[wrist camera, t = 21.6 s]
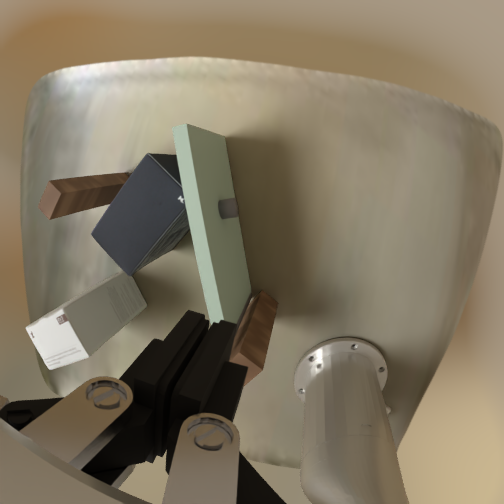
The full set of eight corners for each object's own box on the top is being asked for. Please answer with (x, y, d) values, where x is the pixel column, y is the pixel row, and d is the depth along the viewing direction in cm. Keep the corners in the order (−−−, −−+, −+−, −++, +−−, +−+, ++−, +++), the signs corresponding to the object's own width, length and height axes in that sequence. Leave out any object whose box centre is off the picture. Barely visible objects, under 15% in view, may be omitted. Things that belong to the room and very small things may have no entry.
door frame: (278, 303, 39) (262, 370, 26) (262, 319, 40) (240, 389, 26) (124, 172, 38) (48, 180, 24) (113, 191, 39) (37, 206, 25)
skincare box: (109, 321, 44) (49, 373, 30) (90, 285, 43) (21, 328, 29) (151, 304, 42) (90, 361, 28) (130, 264, 41) (59, 308, 27)
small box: (187, 151, 36) (146, 148, 26) (227, 189, 36) (198, 198, 26) (136, 216, 39) (86, 233, 29) (171, 252, 40) (130, 280, 30)
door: (264, 297, 38) (246, 351, 27) (243, 299, 39) (218, 352, 28) (236, 133, 34) (203, 119, 23) (214, 138, 35) (172, 127, 23)
